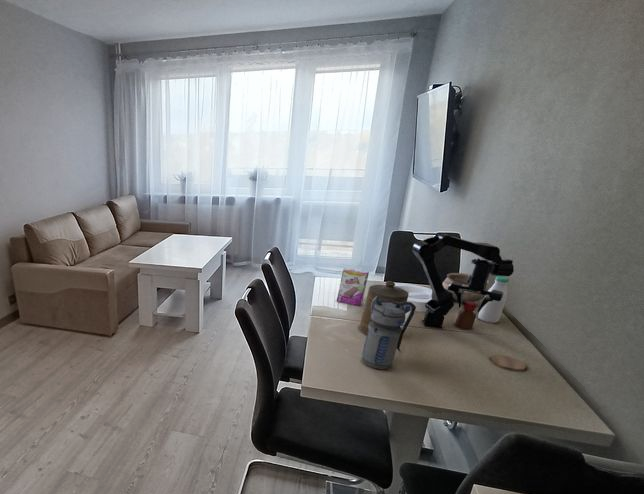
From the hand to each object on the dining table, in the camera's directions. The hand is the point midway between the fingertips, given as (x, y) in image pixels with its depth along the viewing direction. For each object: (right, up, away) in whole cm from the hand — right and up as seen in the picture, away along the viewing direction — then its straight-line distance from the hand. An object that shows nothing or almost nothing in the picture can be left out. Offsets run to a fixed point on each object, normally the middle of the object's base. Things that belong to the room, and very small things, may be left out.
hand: (468, 309), depth 176 cm
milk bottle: (+16, -4, +11) cm, 20 cm away
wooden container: (-40, -9, -3) cm, 41 cm away
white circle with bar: (-9, +5, +31) cm, 32 cm away
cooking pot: (+18, +5, +32) cm, 37 cm away
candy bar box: (-40, +4, +26) cm, 48 cm away
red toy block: (0, 0, 0) cm, 0 cm away
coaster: (-4, -20, -26) cm, 33 cm away
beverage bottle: (-53, -20, -29) cm, 63 cm away
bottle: (0, -7, +3) cm, 8 cm away
